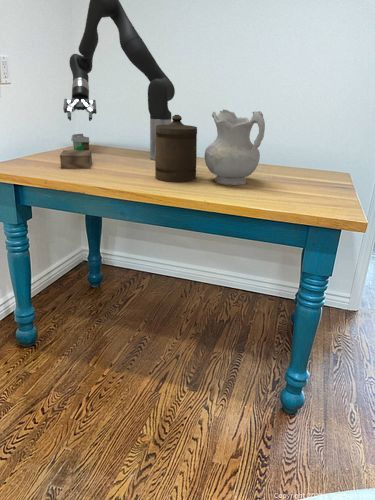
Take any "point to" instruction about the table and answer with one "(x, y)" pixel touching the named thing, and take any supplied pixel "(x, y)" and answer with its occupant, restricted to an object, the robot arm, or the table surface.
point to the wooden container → (176, 151)
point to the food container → (80, 142)
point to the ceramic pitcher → (234, 148)
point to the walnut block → (76, 159)
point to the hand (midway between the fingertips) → (79, 119)
